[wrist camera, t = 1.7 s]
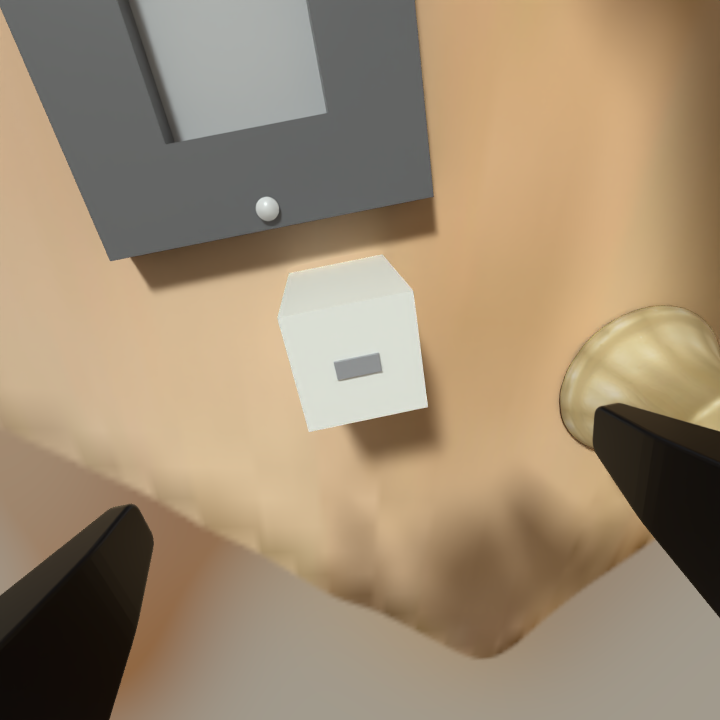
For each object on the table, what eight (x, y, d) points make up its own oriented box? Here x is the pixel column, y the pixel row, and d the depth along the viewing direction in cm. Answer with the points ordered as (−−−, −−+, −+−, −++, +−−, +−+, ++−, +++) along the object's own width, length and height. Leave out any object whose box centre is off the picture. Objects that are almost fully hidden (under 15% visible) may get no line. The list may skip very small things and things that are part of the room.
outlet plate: (375, -260, 12) (385, -328, 10) (423, 194, 17) (435, 196, 15) (-54, -184, 11) (-111, -240, 10) (127, 254, 16) (107, 262, 15)
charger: (382, 254, 17) (413, 291, 12) (395, 340, 19) (428, 408, 14) (288, 273, 17) (277, 319, 12) (310, 358, 19) (309, 433, 13)
